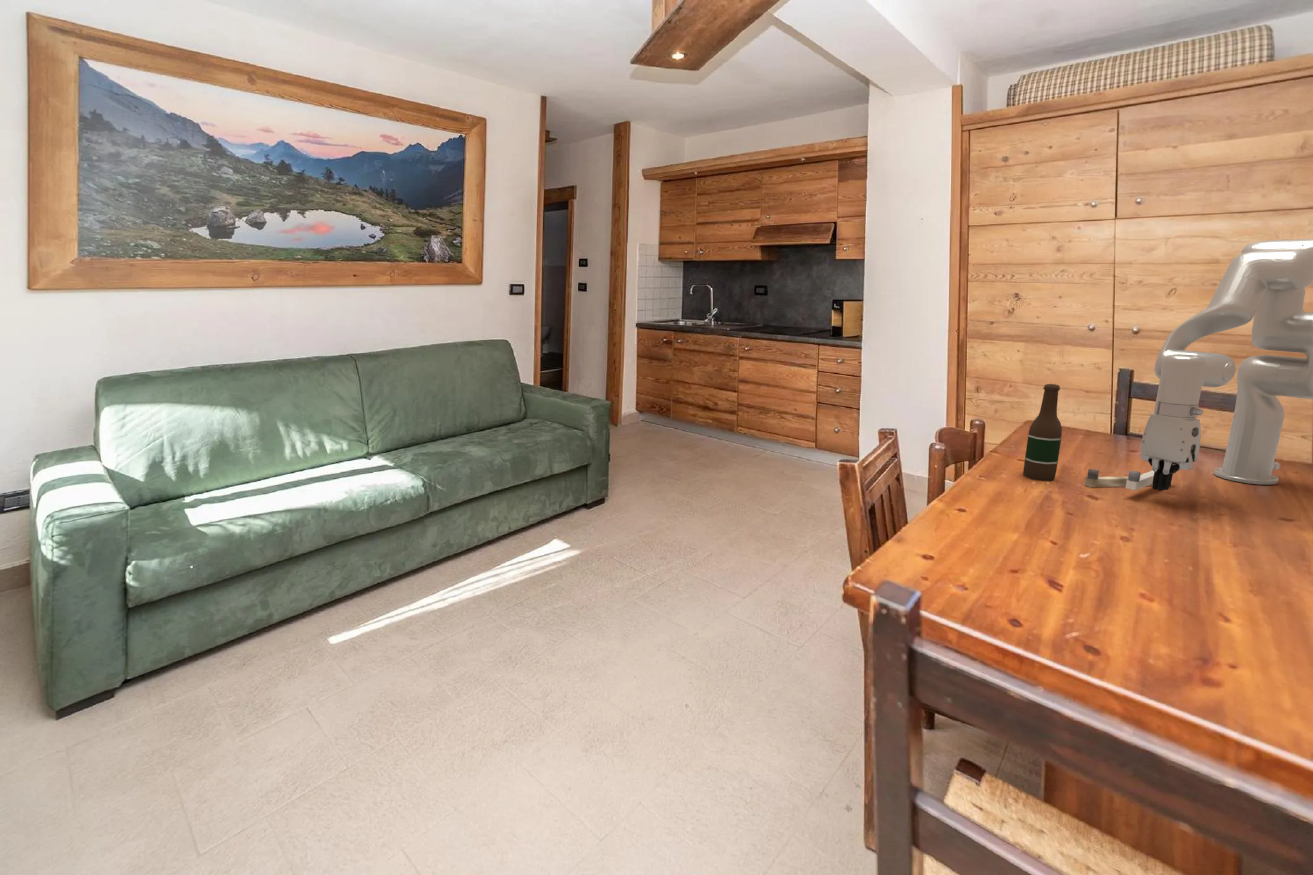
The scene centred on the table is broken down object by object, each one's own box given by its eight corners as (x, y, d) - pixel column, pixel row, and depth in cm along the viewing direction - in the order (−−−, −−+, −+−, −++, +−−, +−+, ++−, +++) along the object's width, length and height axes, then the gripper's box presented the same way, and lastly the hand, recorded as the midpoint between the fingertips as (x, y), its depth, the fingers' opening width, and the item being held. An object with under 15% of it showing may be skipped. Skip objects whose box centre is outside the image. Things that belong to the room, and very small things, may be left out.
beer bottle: (1061, 482, 169) (1075, 387, 163) (1027, 480, 170) (1040, 386, 165) (1049, 473, 176) (1063, 383, 171) (1017, 471, 178) (1030, 381, 172)
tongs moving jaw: (1156, 475, 167) (1159, 460, 166) (1166, 478, 165) (1169, 462, 164) (1124, 488, 156) (1127, 471, 156) (1135, 490, 155) (1138, 473, 154)
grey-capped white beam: (1163, 482, 169) (1168, 459, 167) (1173, 486, 166) (1178, 462, 165) (1082, 484, 167) (1086, 460, 166) (1091, 487, 164) (1095, 464, 163)
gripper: (1223, 415, 144) (1207, 497, 148) (1152, 403, 157) (1139, 478, 162) (1200, 418, 141) (1184, 500, 145) (1130, 405, 155) (1117, 481, 159)
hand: (1160, 489), depth 153 cm, fingers closed
